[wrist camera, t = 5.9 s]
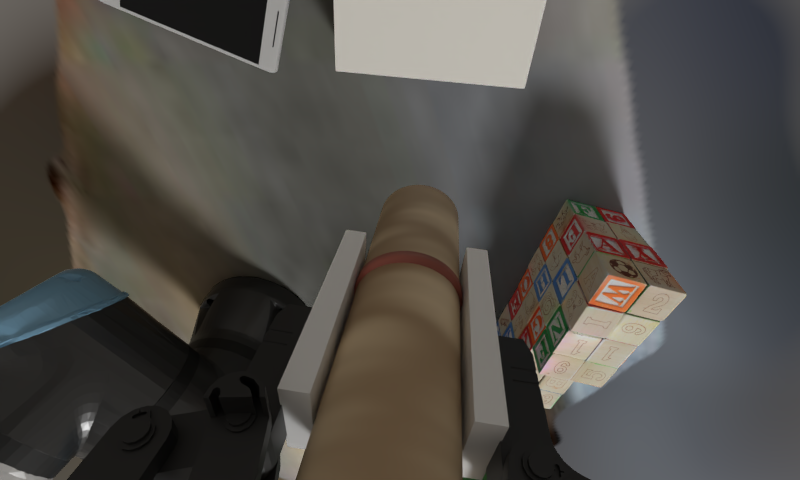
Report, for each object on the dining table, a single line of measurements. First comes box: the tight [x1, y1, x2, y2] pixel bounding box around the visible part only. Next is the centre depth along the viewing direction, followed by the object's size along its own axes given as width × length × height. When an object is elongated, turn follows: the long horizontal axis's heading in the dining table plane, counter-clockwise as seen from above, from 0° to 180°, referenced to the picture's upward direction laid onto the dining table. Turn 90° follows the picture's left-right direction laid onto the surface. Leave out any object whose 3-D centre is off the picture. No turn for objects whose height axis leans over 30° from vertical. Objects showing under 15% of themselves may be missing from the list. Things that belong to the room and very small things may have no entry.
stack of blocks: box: [497, 200, 686, 409], centre depth 38 cm, size 21×6×12 cm, turn 167°
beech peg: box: [296, 185, 463, 480], centre depth 11 cm, size 4×4×16 cm
